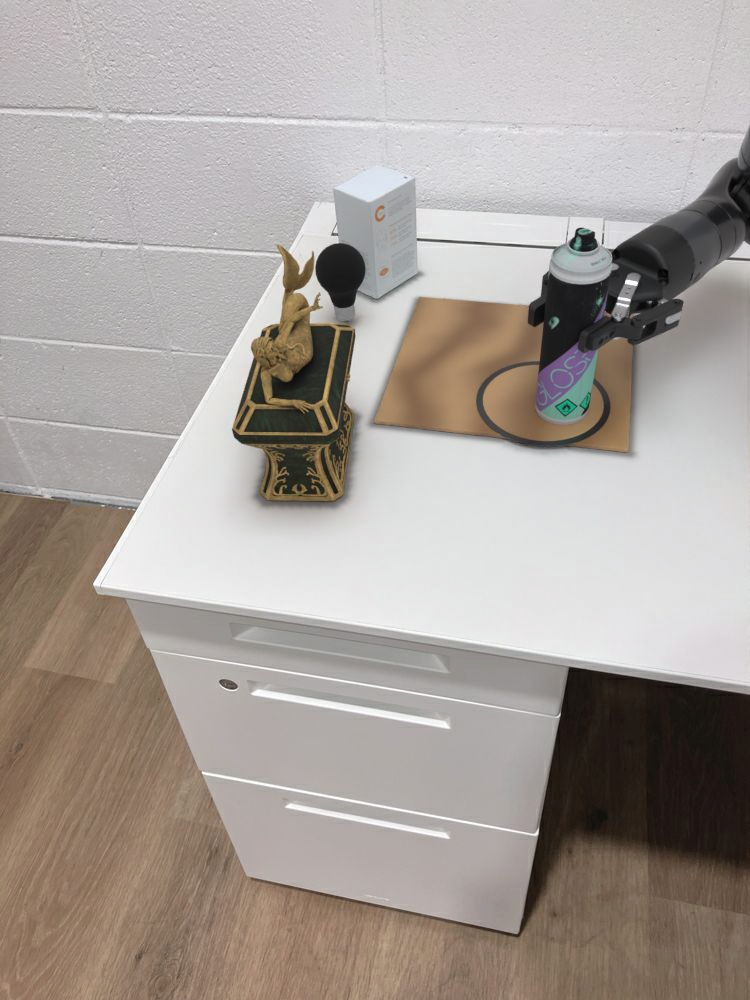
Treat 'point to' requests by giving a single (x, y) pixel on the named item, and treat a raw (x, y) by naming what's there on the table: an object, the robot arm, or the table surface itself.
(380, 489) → the table surface
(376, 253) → the small box
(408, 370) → the drawing board
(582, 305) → the spray can
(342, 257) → the light bulb
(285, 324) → the decorative box
